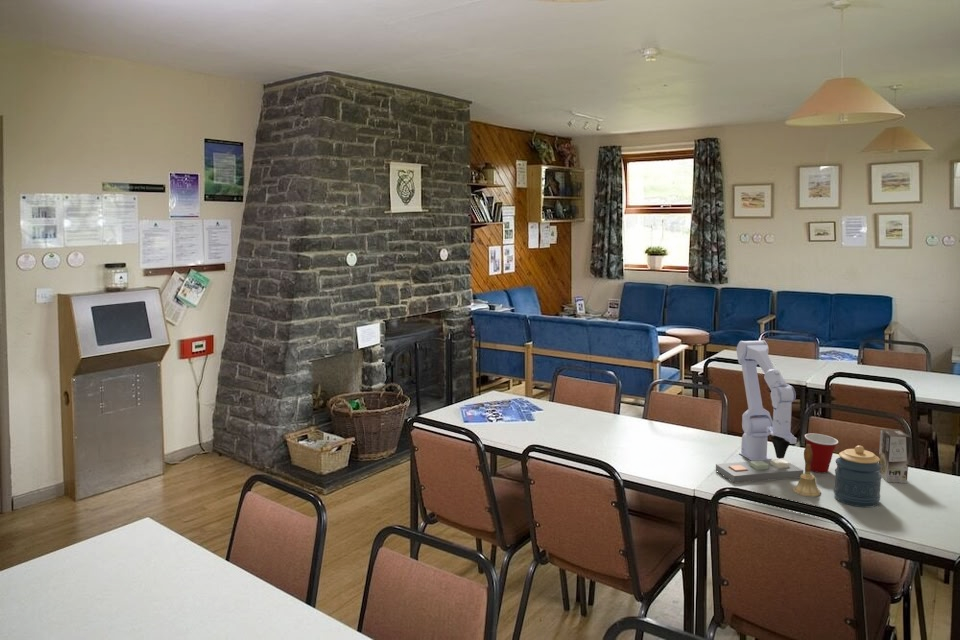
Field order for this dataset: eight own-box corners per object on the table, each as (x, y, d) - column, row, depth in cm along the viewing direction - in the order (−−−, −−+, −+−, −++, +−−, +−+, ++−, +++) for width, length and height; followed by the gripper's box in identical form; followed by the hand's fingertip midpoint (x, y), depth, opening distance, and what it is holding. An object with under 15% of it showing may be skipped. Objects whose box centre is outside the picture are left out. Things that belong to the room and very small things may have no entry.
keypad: (715, 470, 246) (715, 464, 246) (782, 465, 251) (782, 458, 250) (733, 483, 234) (734, 475, 234) (802, 477, 239) (803, 470, 239)
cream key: (770, 465, 245) (770, 459, 245) (781, 464, 246) (781, 458, 246) (777, 470, 241) (777, 463, 241) (789, 469, 242) (789, 463, 242)
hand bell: (805, 498, 221) (807, 449, 219) (787, 488, 229) (789, 442, 227) (826, 495, 223) (829, 447, 221) (808, 486, 231) (810, 439, 229)
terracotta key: (728, 471, 243) (728, 465, 242) (740, 470, 244) (740, 464, 243) (735, 476, 238) (735, 470, 238) (747, 475, 239) (747, 469, 239)
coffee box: (907, 483, 232) (911, 436, 230) (886, 482, 233) (889, 435, 231) (897, 474, 241) (900, 429, 239) (877, 472, 242) (880, 428, 240)
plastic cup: (833, 477, 238) (835, 444, 236) (799, 471, 244) (801, 438, 243) (839, 468, 247) (841, 436, 245) (806, 462, 253) (808, 431, 251)
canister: (838, 488, 228) (841, 437, 226) (883, 498, 220) (887, 444, 218) (828, 501, 218) (832, 447, 216) (875, 511, 210) (879, 455, 208)
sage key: (749, 467, 244) (749, 461, 244) (761, 466, 245) (761, 460, 244) (756, 471, 240) (757, 465, 239) (768, 470, 240) (768, 464, 240)
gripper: (759, 415, 248) (758, 452, 249) (784, 426, 234) (782, 465, 235) (777, 414, 249) (775, 450, 251) (802, 425, 235) (801, 463, 237)
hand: (780, 457), depth 243 cm, fingers closed
